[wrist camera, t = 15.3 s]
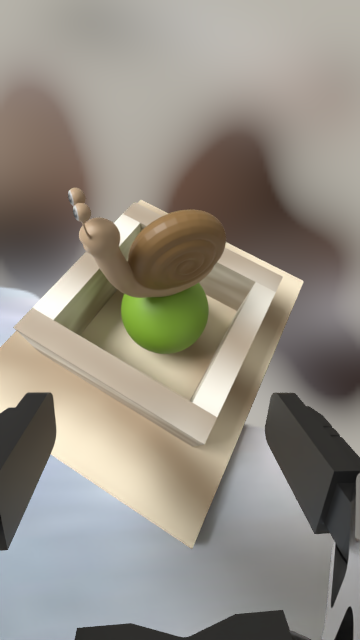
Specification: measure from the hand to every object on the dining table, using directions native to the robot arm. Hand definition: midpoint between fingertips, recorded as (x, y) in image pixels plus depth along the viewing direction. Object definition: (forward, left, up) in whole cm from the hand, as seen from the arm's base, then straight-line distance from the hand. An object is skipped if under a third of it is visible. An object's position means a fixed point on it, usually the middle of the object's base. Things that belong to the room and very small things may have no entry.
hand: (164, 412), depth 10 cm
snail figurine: (+6, +4, -8) cm, 10 cm away
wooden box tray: (+6, +3, -8) cm, 11 cm away
